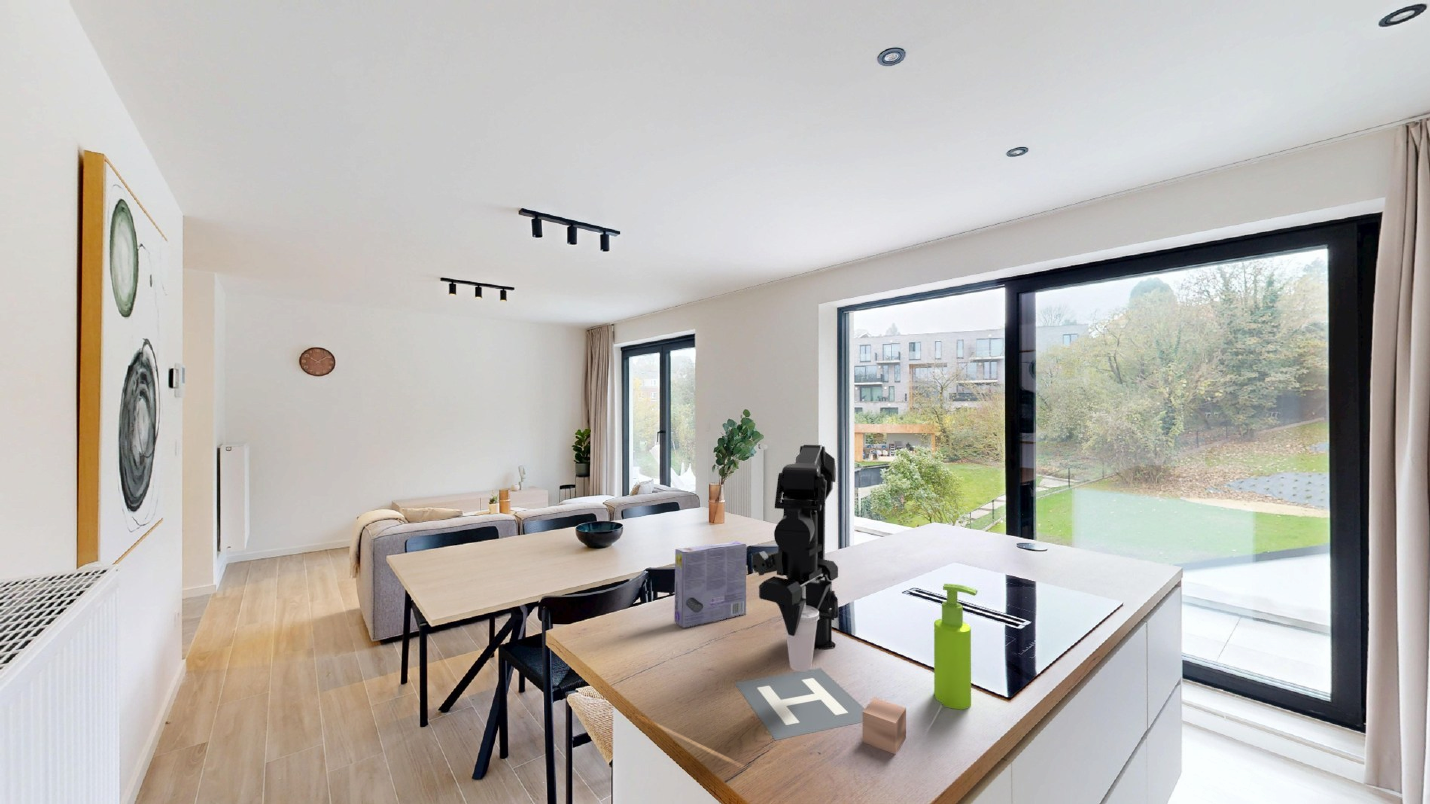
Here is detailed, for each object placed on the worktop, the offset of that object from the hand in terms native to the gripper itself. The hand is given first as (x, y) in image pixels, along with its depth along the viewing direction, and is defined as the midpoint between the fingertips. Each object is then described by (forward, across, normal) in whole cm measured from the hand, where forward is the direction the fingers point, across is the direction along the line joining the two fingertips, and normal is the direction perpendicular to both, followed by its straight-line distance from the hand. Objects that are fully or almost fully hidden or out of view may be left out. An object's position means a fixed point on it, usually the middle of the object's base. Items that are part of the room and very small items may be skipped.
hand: (800, 628), depth 93 cm
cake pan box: (+13, -20, -34) cm, 42 cm away
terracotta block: (+13, +2, +16) cm, 20 cm away
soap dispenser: (+13, -17, +22) cm, 30 cm away
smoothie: (+7, 0, 0) cm, 7 cm away
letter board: (+13, 0, 0) cm, 13 cm away
